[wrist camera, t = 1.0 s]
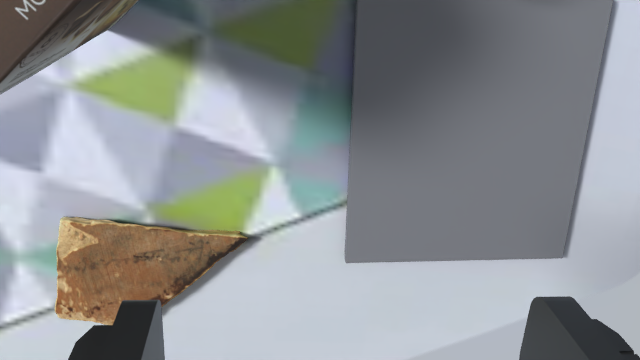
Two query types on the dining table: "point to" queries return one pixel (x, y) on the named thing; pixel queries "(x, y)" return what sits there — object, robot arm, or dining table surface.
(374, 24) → the mat
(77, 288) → the shard
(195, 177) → the dining table surface
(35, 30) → the cookie box
